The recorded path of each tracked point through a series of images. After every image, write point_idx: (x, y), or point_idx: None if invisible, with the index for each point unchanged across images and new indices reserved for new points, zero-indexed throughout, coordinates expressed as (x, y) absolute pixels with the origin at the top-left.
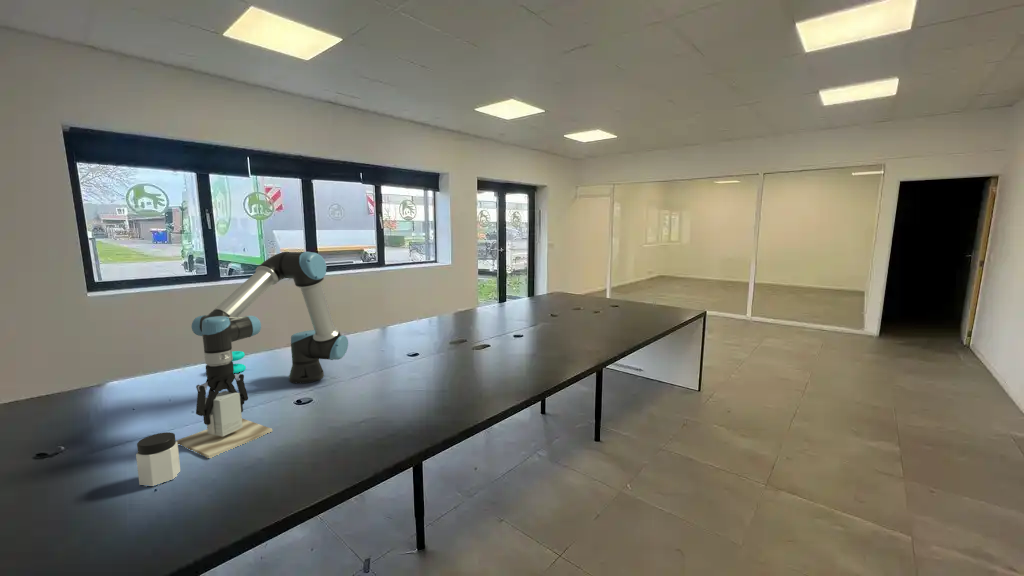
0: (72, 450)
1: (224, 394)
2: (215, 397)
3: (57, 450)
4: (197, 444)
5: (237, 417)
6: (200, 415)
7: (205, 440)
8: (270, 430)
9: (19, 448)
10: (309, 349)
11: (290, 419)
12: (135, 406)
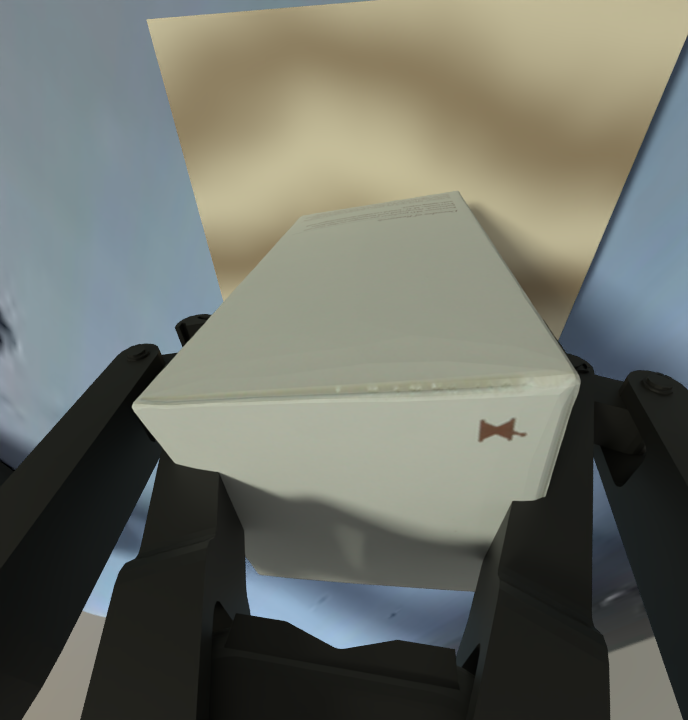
0: (626, 578)
1: (322, 520)
2: (516, 529)
3: (629, 596)
4: (539, 287)
5: (312, 238)
6: (668, 379)
7: None
8: (166, 18)
9: (627, 637)
10: None
11: (28, 138)
12: (383, 619)
